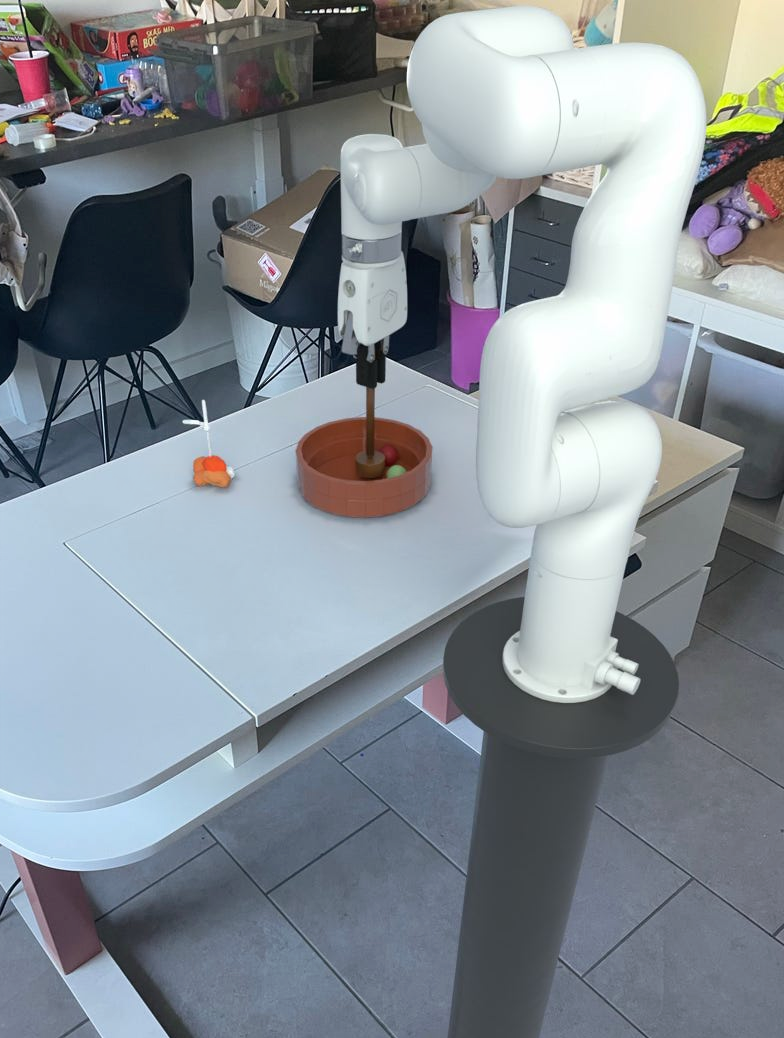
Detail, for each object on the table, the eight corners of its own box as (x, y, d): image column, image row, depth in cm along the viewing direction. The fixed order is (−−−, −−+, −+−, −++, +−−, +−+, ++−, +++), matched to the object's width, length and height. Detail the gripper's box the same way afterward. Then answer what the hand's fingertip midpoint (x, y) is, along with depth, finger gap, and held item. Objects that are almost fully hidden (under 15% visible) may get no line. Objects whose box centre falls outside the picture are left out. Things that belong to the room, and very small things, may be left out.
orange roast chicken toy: (209, 460, 147) (201, 388, 139) (244, 484, 141) (237, 410, 133) (177, 473, 144) (166, 401, 136) (211, 498, 138) (202, 423, 130)
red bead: (387, 463, 139) (395, 471, 142) (396, 445, 139) (404, 453, 142) (371, 457, 141) (379, 465, 144) (380, 439, 141) (388, 447, 144)
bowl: (455, 476, 140) (458, 440, 136) (379, 536, 129) (379, 498, 125) (350, 440, 150) (350, 405, 146) (270, 493, 139) (268, 456, 135)
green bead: (410, 483, 138) (411, 465, 136) (399, 492, 136) (399, 473, 134) (394, 477, 139) (394, 459, 137) (382, 485, 138) (382, 467, 136)
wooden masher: (390, 468, 139) (393, 342, 127) (373, 481, 137) (374, 353, 124) (366, 460, 142) (367, 335, 129) (349, 472, 139) (347, 346, 126)
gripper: (359, 269, 112) (359, 411, 124) (430, 234, 121) (424, 370, 133) (310, 258, 116) (315, 397, 128) (382, 225, 125) (380, 357, 137)
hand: (370, 382), depth 130 cm, fingers closed on wooden masher, 1 cm apart
